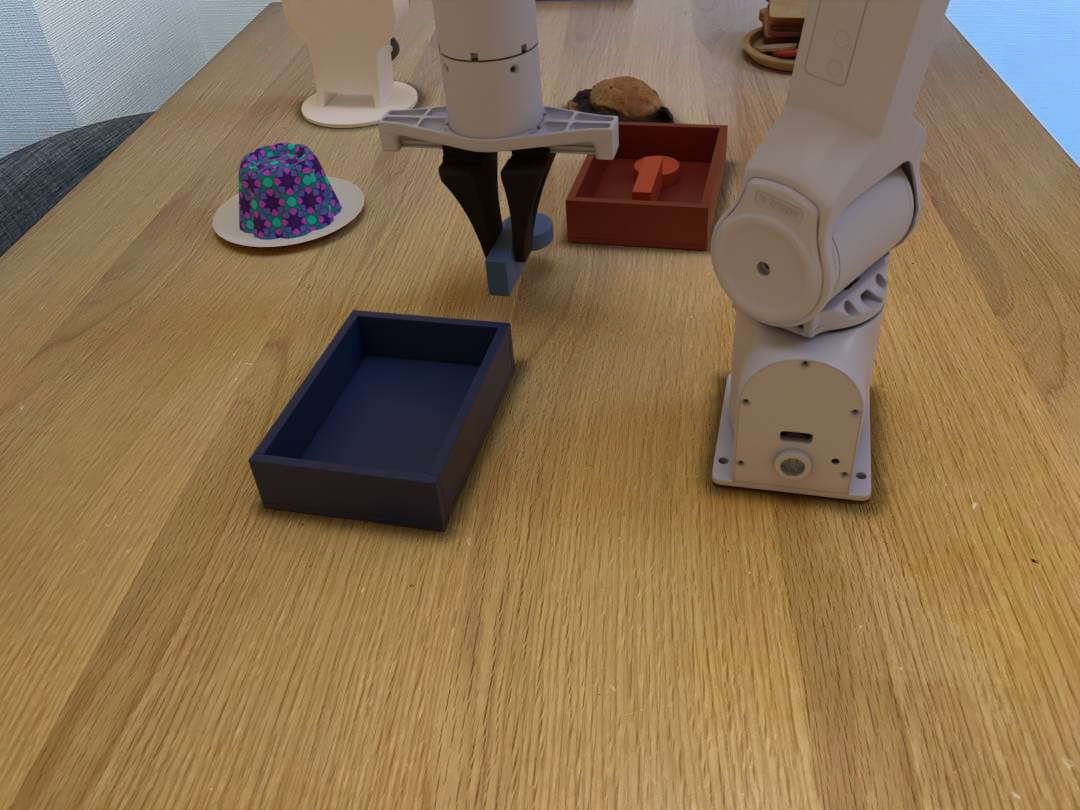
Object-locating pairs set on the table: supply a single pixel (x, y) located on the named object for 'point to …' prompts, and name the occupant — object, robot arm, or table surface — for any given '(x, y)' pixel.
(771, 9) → the toy sandwich meal
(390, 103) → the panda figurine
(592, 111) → the bread roll
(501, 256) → the blue spoon
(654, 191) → the red spoon
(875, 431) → the table surface
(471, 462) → the blue bin
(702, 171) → the red bin
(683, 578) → the table surface
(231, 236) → the pudding
